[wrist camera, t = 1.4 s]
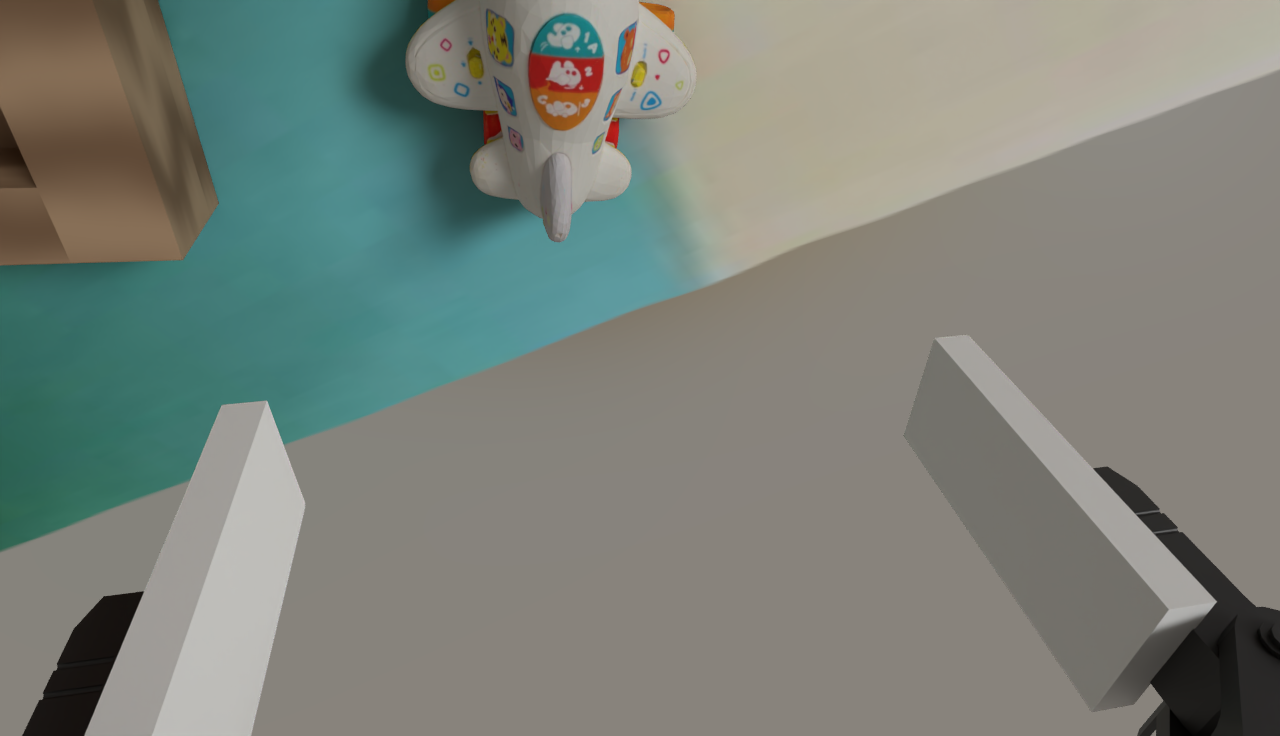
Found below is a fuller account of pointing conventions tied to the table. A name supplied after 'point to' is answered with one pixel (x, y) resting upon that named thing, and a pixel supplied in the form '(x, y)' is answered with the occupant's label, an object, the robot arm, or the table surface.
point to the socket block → (95, 136)
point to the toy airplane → (551, 91)
